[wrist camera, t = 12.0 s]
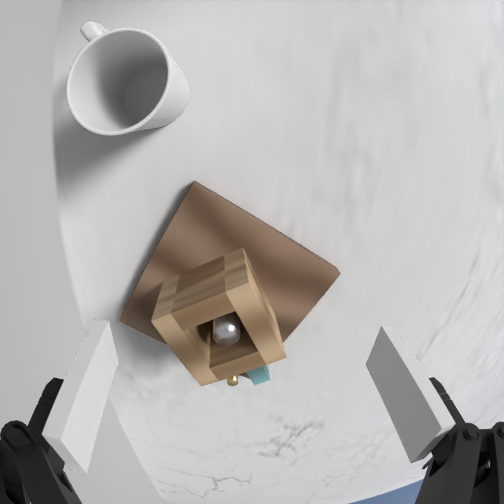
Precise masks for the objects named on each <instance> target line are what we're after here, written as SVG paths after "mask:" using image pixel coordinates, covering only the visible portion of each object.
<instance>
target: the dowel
mask: <svg viewBox="0 0 504 504" xmlns="http://www.w3.org/2000/svg"><path fill="white" fill-rule="evenodd" d="M227 383H228V385H230V386H235V385H237V384H238V376H237V375H236V376H233V377H230V378H227Z"/></svg>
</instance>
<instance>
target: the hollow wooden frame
mask: <svg viewBox="0 0 504 504" xmlns="http://www.w3.org/2000/svg"><path fill="white" fill-rule="evenodd" d="M234 311H236V312H237V314H238V316H239V323H240V333H241V336H240V339H239V341H238V342H237V343H235V344H233V345H230V346H223V345H220V344H218V343H217V342H216V341H215V340H214V338H213V324H210V323H209V321H210V320H213V319H216V318H218V317H221V316H223V315H226V314H229V313H231V312H234ZM151 322H152V323H153V325H154V326H155V327H156V329H157V330H158V332H159V333H160V334H161V336H162V337H163V338H164V340H165V341H166V343H167V344H168V345H169V347H170V348H171V349H172V350H173V352H174V353H175V354H176V356H177V357H178V358H179V360H180V361H181V362H182V363H183V365H184V366H185V367H186V369H187V370H188V371H189V372H190V374H191V375H192V376H193V377H194V378H195V380H196V381H197V382H198V383H199V385H200V386H204V385H207V384H211V383H214V382H217V381H220V380H224V379H227V378H230V377H233V376H236V375H239V374H242V373H245V372H246V373H247V374H248V376H249V377H250V379H251V380H252V382H253V383H254V385H257V384H260V383H263V382H265V381H268V380H270V375H269V370H268V365H267V364H270V363H273V362H276V361H278V360H281V359H284V358H286V354H285V350H284V346H283V342H282V339H281V335H280V331H279V327H278V324H277V320H276V316H275V314H274V312H273V309H272V307H271V305H270V303H269V301H268V299H267V297H266V295H265V293H264V291H263V289H262V286H261V284H260V282H259V280H258V278H257V276H256V274H255V272H254V270H253V268H252V265H251V263H250V261H249V259H248V257H247V255H246V253H245V251H244V249H243V248H240V249H238V250H236V251H233V252H231V253H229V254H226V255H224V256H222V257H219V258H217V259H215V260H212V261H210V262H208V263H205V264H203V265H201V266H198V267H196V268H194V269H191V270H189V271H187V272H184V273H182V274H180V275H177V276H175V277H173V278H170V279H168V280H166V281H164V282H163V285H162V288H161V291H160V294H159V297H158V300H157V303H156V306H155V310H154V313H153V316H152V319H151Z"/></svg>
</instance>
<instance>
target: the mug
mask: <svg viewBox="0 0 504 504" xmlns="http://www.w3.org/2000/svg"><path fill="white" fill-rule="evenodd" d="M80 31H81V33H82V34H83V36H84V37H85V38H86V39H87V40H88V41H89V43H88V44H87V45H86V46H85V47H84V48H83V49H82V50H81V51H80V52H79V54H78V55H77V57H76V58H75V60H74V62H73V64H72V66H71V68H70V71H69V74H68V77H67V83H66V98H67V103H68V106H69V109H70V111H71V113H72V115H73V117H74V118H75V119H76V121H77V122H78V123H79V124H80V125H81V126H83V127H84V128H85V129H87V130H89V131H91V132H93V133H96V134H100V135H106V136H114V135H121V134H126V133H131V132H136V131H142V130H147V129H153V128H158V127H162V126H165V125H168V124H170V123H172V122H173V121H175V120H176V119H177V118H178V117H179V116H180V115H181V114H182V113H183V111H184V110H185V108H186V106H187V103H188V99H189V87H188V83H187V81H186V79H185V77H184V75H183V73H182V72H181V70H180V69H179V67H178V66H177V64H176V63H175V61H174V60H173V58H172V57H171V55H170V54H169V52H168V51H167V49H166V48H165V47H164V46H163V44H162V43H161V42H160V41H159V40H158V39H157V38H156V37H154V36H153V35H152V34H150V33H148V32H146V31H143V30H140V29H135V28H119V29H114V30H111V31H109V30H107V29H106V28H105V27H103V26H102V25H100V24H98V23H95V22H94V23H93V22H92V21H89V22H87V23H85V24H84V25H83V26H82V27H81V29H80Z"/></svg>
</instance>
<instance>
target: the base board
mask: <svg viewBox="0 0 504 504" xmlns="http://www.w3.org/2000/svg"><path fill="white" fill-rule="evenodd" d="M240 248H243V249H244V251H245V253H246V255H247V257H248V259H249V261H250V263H251V265H252V268H253V270H254V272H255V274H256V276H257V278H258V280H259V282H260V284H261V286H262V289H263V291H264V293H265V295H266V297H267V299H268V301H269V303H270V305H271V307H272V309H273V312H274V314H275V316H276V320H277V324H278V327H279V331H280V335H281V339H282V342H284V341H285V340H286V339H287V338H288V336H289V335H290V334H291V333H292V332H293V331H294V330H295V328H296V327H297V326H298V325H299V324H300V323H301V321H302V320H303V319H304V318H305V317H306V316H307V314H308V313H309V312H310V311H311V310H312V308H313V307H314V306H315V305H316V304H317V302H318V301H319V300H320V299H321V298H322V296H323V295H324V294H325V293H326V291H327V290H328V289H329V288H330V286H331V285H332V284H333V283H334V281H335V280H336V279H337V278H338V276H339V275H340V274H341V273H340V272H339V270H338V269H337V268H336V267H335V266H333V265H332V264H330V263H329V262H327V261H326V260H324V259H322V258H321V257H319V256H318V255H316V254H314V253H313V252H311V251H310V250H308V249H307V248H305V247H303V246H302V245H300V244H299V243H297V242H295V241H294V240H292V239H291V238H289V237H287V236H286V235H284V234H283V233H281V232H279V231H278V230H276V229H274V228H273V227H271V226H270V225H268V224H266V223H265V222H263V221H261V220H260V219H258V218H256V217H255V216H253V215H252V214H250V213H248V212H247V211H245V210H243V209H242V208H240V207H238V206H237V205H235V204H233V203H232V202H230V201H228V200H227V199H225V198H223V197H222V196H220V195H218V194H217V193H215V192H213V191H211V190H210V189H208V188H206V187H205V186H203V185H201V184H200V183H198V182H196V181H194V183H193V184H192V186H191V188H190V189H189V191H188V193H187V194H186V196H185V198H184V199H183V201H182V203H181V205H180V206H179V208H178V210H177V211H176V213H175V215H174V217H173V218H172V220H171V222H170V224H169V225H168V227H167V229H166V231H165V233H164V234H163V236H162V238H161V240H160V242H159V244H158V245H157V247H156V249H155V251H154V253H153V255H152V257H151V258H150V260H149V262H148V264H147V266H146V268H145V270H144V272H143V274H142V276H141V278H140V280H139V281H138V283H137V285H136V287H135V289H134V291H133V293H132V295H131V297H130V300H129V302H128V304H127V306H126V308H125V310H124V312H123V314H122V316H121V319H120V321H121V322H123V323H125V324H127V325H129V326H131V327H133V328H135V329H137V330H139V331H141V332H143V333H145V334H147V335H149V336H151V337H153V338H155V339H157V340H159V341H161V342H163V343H165V344H167V343H166V341H165V340H164V338H163V337H162V336H161V334H160V333H159V332H158V330H157V329H156V327H155V326H154V325H153V323H152V322H151V319H152V316H153V313H154V310H155V306H156V303H157V300H158V297H159V294H160V291H161V288H162V285H163V282H164V281H166V280H168V279H170V278H173V277H175V276H177V275H180V274H182V273H184V272H187V271H189V270H191V269H194V268H196V267H198V266H201V265H203V264H205V263H208V262H210V261H212V260H215V259H217V258H219V257H222V256H224V255H226V254H229V253H231V252H233V251H236V250H238V249H240ZM209 323H210V324H213V320H210V321H209ZM239 375H241V376H244V377H246V378H249V379H250V377H249V376H248V374H247V373H246V372H245V373H242V374H239Z"/></svg>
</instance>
